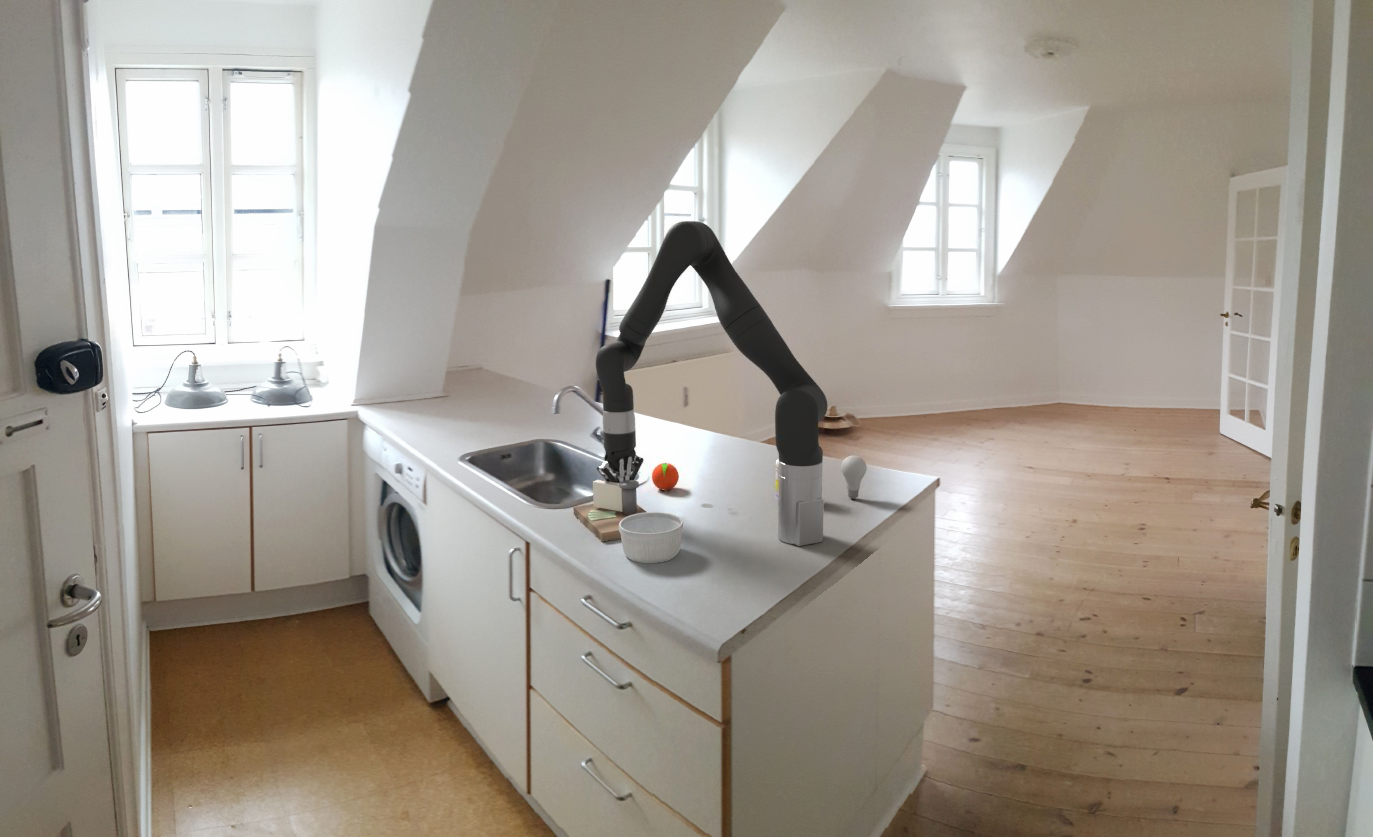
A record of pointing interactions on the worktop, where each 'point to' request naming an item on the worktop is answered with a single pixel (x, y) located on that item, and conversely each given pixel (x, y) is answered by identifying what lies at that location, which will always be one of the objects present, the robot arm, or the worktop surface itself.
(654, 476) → the clementine
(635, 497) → the knob
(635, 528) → the ramekin
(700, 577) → the worktop surface
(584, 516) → the board
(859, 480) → the lightbulb
